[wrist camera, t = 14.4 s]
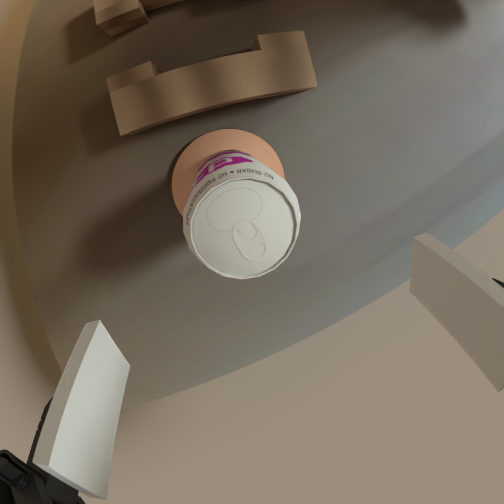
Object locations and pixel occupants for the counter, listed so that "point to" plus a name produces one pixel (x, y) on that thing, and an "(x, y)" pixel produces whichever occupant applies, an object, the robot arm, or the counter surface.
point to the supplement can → (240, 216)
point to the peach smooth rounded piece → (211, 145)
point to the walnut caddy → (199, 73)
